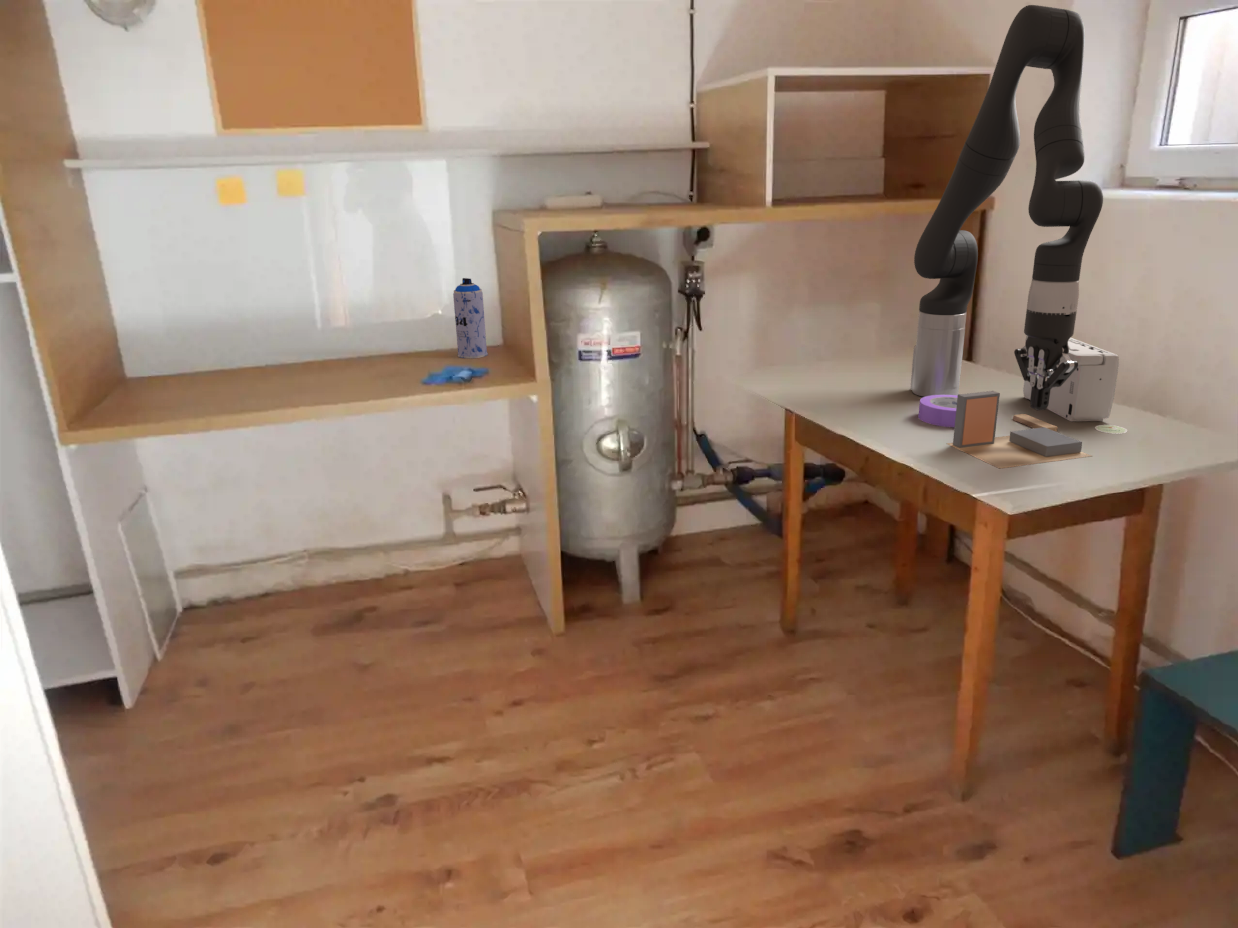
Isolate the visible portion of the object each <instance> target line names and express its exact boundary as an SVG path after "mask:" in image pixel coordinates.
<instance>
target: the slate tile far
mask: <svg viewBox="0 0 1238 928" xmlns="http://www.w3.org/2000/svg"><path fill="white" fill-rule="evenodd" d="M1009 436H1010V439H1009V441H1010V442H1012V443H1014V444H1017V445H1019V446H1021V447H1024V448H1026V449H1029V450H1031V451H1033V452H1036V453H1038V454H1040V455H1043V456H1045V457H1048V456H1055V455H1063V454H1071V453H1078V452H1082V447H1083V441H1081V440H1078V439H1077V438H1073V437H1071V436H1068V435H1065V434H1063V433H1060V432H1058V431H1057V432H1055V431H1053V430H1050V429H1048V428H1045V427H1042V428H1027V429H1020V430H1011V431H1010V432H1009Z"/></svg>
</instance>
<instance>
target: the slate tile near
mask: <svg viewBox="0 0 1238 928" xmlns="http://www.w3.org/2000/svg"><path fill="white" fill-rule="evenodd" d="M1000 395H1001V393H1000V392H998V391H995V390H989V391H978V392H969V393H958V395H957V396H958V398H957V408H956V418H955V427H953V428H954V429H953V430H954V431H953V437H952V438H953V439H952V443H953V445H954V446H956V447H958V448H963V447H971V446H979V445H987V444H994V440H995V437H996V429H997V421H998V420H997V419H998V412H999V406H1000V405H999V404H1000Z"/></svg>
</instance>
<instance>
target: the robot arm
mask: <svg viewBox="0 0 1238 928" xmlns="http://www.w3.org/2000/svg"><path fill="white" fill-rule="evenodd" d="M1085 37H1086V36H1085V24H1084V20H1083V18H1082V16H1081V15H1080V13H1078V12H1076V11H1073V10H1071V9H1065V8H1060V7H1059V8H1058V7H1051V6H1046V5H1045V6H1043V5H1037V4H1036V5H1034V4H1027V5H1025V6H1024V7H1022V8H1021V9H1020V10H1019V11H1018V13H1017V14H1016V15H1015V16H1014V18H1013V20H1012V22H1011V24H1010V26H1009V29H1008V31H1007V33H1006V36H1005V38H1004V41H1003V44H1002V46H1001V49H1000V53H999V56H998V59H997V62H996V64H995V67H994V71H993V74H992V77H991V81H990V82H989V85H988V88H987V91H986V93H985V96H984V99H983V102H982V103H981V106H980V109H979V111H978V113H977V115H976V118H975V121H974V123H973V124H972V126H971V129H970V131H969V133H968V136H967V137H966V140H965V142H964V144H963V147H962V149H961V151H960V154H959V155H958V158H957V161H956V164H955V167H954V168H953V172H952V174H951V177H950V178H949V181H948V183H947V184H946V187H945V189H944V192H943V194H942V196H941V199H940V200H939V203H938V205H937V206H936V209H935V210H934V211H933V214H932V215H931V218H930V219H929V221H928V223H927V225H926V227H925V228H924V230H923V231H922V234H921V235H920V238H919V240H918V242H917V244H916V248H915V251H914V255H913V256H914V257H913V260H914V262H913V263H914V268H915V271H916V274H918V276H920V277H921V278H924V279H929V280H931V279H932V280H936V279H937V280H939V281H938V284H937V285H936V286H935V287H934V288H933V289H932V290H931V291H929V292H928V293H926V294H924V295H923V296H921V298H920V300H919V308H918V319H917V320H918V321H917V334H916V343H915V345H914V346H913V353H912V364H911V365H912V366H911V377H910V378H911V379H910V390H912V393H913V394H914V395H917V396H919V397H922V398H923V397H926V396H931V395H957V396H958V394H959V393H960V392H959V389H960V382H961V381H960V380H961V372H962V363H963V353H964V343H965V333H966V321H967V313H968V312H967V311H968V305H969V302H970V301H971V299H972V297H973V294H974V285H975V279H976V273H977V265H978V258H979V257H978V256H979V252H978V250H979V248H978V244H977V240H976V237H975V236H974V235H973V233H971V232H970V231H967V230H965V229H962V227H963V225H964V224H965V222H966V221H967V219H968V218H969V217H970V216H971V214H973V212H975V211H976V209H978V208H979V207H980V206H981V205H982V204H983V203H984V202H985V201H987V199H989V197H991V195H993V193H994V192H995V191H996V190H997V189H998V188H999V187H1000V186H1001V184H1003V181H1004V180H1005V178H1006V177H1007V176H1008V173H1009V171H1010V168H1011V167H1012V164H1013V162H1014V160H1015V158H1016V156H1017V154H1018V151H1019V149H1020V145H1021V131H1020V130H1021V129H1020V124H1019V119H1018V112H1017V104H1016V103H1017V101H1016V97H1017V95H1016V94H1017V90H1018V87H1019V86H1018V85H1019V82H1020V80H1021V77H1022V75H1023V72H1024V70H1025V68H1026V67H1030V68H1035V69H1037V68H1038V69H1043V70H1051V73H1052V77H1053V83H1054V84H1053V88H1052V91H1051V93H1050V95H1049V97H1048V98H1047V100H1046V101H1045V103H1044V104H1043V106H1042V107H1041V110H1040V111H1039V113H1038V114H1037V117H1036V120H1035V123H1034V128H1033V129H1034V130H1033V142H1034V143H1033V144H1034V154H1035V164H1036V165H1035V173H1034V174H1035V175H1034V181H1033V186H1032V191H1031V194H1030V198H1029V200H1028V201H1029V202H1028V215H1029V218H1030V220H1031V221H1032V222H1033V224H1035V225H1037V226H1038V227H1042V228H1045V227H1046V228H1050V227H1051V228H1053V227H1054V228H1055V227H1056V228H1057V227H1062V228H1063V227H1069V228H1068V229H1067V231H1066V233H1065V234H1064V235H1063V236H1062V237H1061V238H1058V239H1055V240H1050V241H1046V242H1043V243H1041V244H1039V245H1038V246H1037V247H1036V249H1035V253H1034V259H1033V260H1034V261H1033V268H1032V276H1031V282H1030V283H1031V284H1030V286H1029V291H1028V295H1027V304H1026V312H1025V313H1026V314H1025V320H1024V328H1023V329H1024V330H1023V333H1024V335H1025V336H1028V338H1027V340H1026V339H1025V340H1026V341H1025V344H1024V346H1022V347H1021V348H1015V349H1014V350H1013V351H1014V352H1013V353H1014V356H1015V359H1016V362H1017V364H1018V368H1019V371H1020V373H1021V377H1022V379H1023V380H1025V381H1028V382H1030V386H1031V387H1032V390H1031V398H1030V400H1029V403H1030V409H1033V410H1036V411H1043V410H1047V409H1046V408H1047V407H1048V405H1049V397H1050V390H1051V388H1053V387H1060V386H1062V384H1063V383H1064V382H1065V381H1066V380H1067V379H1068V378H1069V376H1070V375H1071V374H1072V373H1073V372H1074V371H1075V370H1076V368H1077V367H1078V362H1077V361H1071V359H1070V358H1069V356H1068V353H1069V347H1068V340H1069V339H1070V337H1071V338H1073V336H1074V333H1075V327H1076V326H1075V325H1076V318H1077V313H1078V304H1079V296H1080V278H1081V277H1080V276H1081V270H1082V262H1083V257H1084V253H1085V250H1086V247H1087V244H1088V242H1089V239H1090V237H1091V234H1092V232H1093V230H1094V228H1095V225H1096V223H1097V221H1098V220H1099V217H1100V214H1101V212H1102V209H1103V204H1104V195H1103V191H1102V188H1101V187H1100V185H1099V184H1098V183H1097V182H1096V181H1093V180H1090V179H1089V180H1088V179H1087V180H1085V179H1084V180H1083V179H1082V180H1079V179H1078V180H1059V179H1064V178H1066V177H1069V176H1072V175H1073V174H1075V173H1077V172H1079V171H1080V170H1081V168H1082V167H1083V165H1084V163H1085V158H1086V157H1085V147H1084V138H1083V130H1082V123H1081V122H1082V121H1081V95H1082V83H1083V72H1084V71H1083V70H1084V55H1085ZM961 229H962V230H961ZM1037 367H1038V368H1037ZM1027 368H1029V369H1027ZM1047 376H1048V379H1047Z"/></svg>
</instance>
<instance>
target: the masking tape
mask: <svg viewBox="0 0 1238 928" xmlns="http://www.w3.org/2000/svg"><path fill="white" fill-rule="evenodd" d="M957 398H958V395H931V396H926V397H923V396H922V397H921V398H920V400H919V406H918V414H917V415H918V416H917V418H918V419H919V420H920V421H922V422H924V423H927V424H930V425H934V426H938V427H946V428H955V418H956V408H957Z"/></svg>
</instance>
